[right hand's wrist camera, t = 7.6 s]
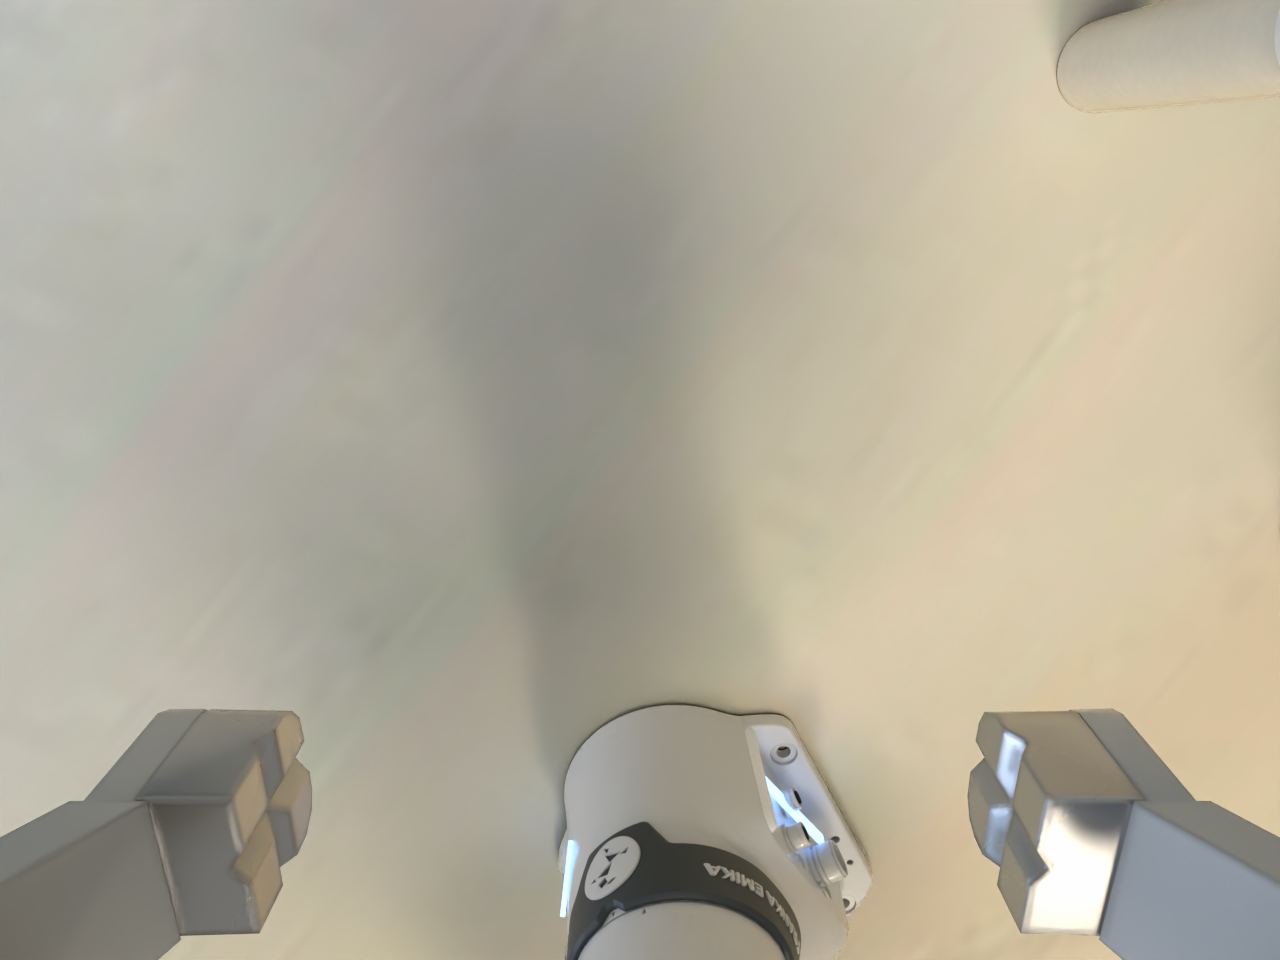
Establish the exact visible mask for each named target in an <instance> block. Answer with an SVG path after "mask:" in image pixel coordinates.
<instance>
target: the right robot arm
mask: <svg viewBox="0 0 1280 960" xmlns="http://www.w3.org/2000/svg"><path fill="white" fill-rule="evenodd" d="M303 742H304V737H303V732H302V727H301V722H300V718H299V717H298V716H297V715H296V714H295V713H294V712H293V711H265V710H219V709H211V710H205V709H169V710H166V711H163V712H160V713H158V714H157V715H156V716H155V717H154V718H153V720H152V721H151V722H150V723H149V724H148V726H147V727H146V728H145V729H144V730H143V731H142V733H141V734H140V735H139V736H138V737H137V738H136V740H135V741H134V742H133V743H132V744H131V746H130V747H129V748H128V749H127V750H126V751H125V753H124V754H123V755H122V756H121V757H120V759H119V760H118V761H117V762H116V763H115V764H114V766H113V767H112V768H111V769H110V770H109V772H108V773H107V774H106V775H105V776H104V777H103V779H102V780H101V781H100V782H99V783H98V784H97V786H96V787H95V788H94V789H93V790H92V792H91V793H90V794H89V795H88V796H87V797H86V799H85V800H84V801H69V802H67V803H65V804H63V805H61V806H59V807H58V808H56V809H54V810H52V811H50V812H48V813H46V814H44V815H42V816H40V817H39V818H37V819H35V820H33V821H31V822H29V823H27V824H25V825H23V826H21V827H19V828H18V829H16V830H14V831H12V832H10V833H8V834H6V835H4V836H2V837H0V960H158V959H159V958H160V957H162V956H163V955H164V954H165V953H166V952H167V951H169V950H170V949H171V948H172V947H173V946H174V945H175V944H177V943H178V942H179V941H180V939H181V938H180V936H186V935H220V934H254V933H260V931H261V929H262V927H263V925H264V923H265V921H266V919H267V917H268V915H269V912H270V910H271V908H272V906H273V904H274V902H275V900H276V898H277V896H278V894H279V892H280V890H281V888H282V886H283V883H282V877H281V871H280V867H281V866H282V865H283V864H285V863H286V862H288V861H289V860H290V859H292V858H293V857H294V856H296V855H297V854H298V852H299V850H300V848H301V845H302V843H303V841H304V839H305V837H306V834H307V830H308V825H309V820H310V816H311V811H312V785H311V779H310V772H309V771H308V770H307V769H306V768H305V767H304V766H303V765H302V764H301V763H300V762H299V761H298V760H297V759H296V758H295V757H296V755H297V753H298V752H299V750H300V748H301V746H302V744H303ZM976 742H977V744H978V746H979V748H980V750H981V752H982V753H983V755H984V757H985V758H984V759H983V760H982V761H981V762H980V763H979V764H978V765H977V766H976V767H975V768H974V769H973V770H972V771H971V772H970V780H969V788H968V806H969V818H970V822H971V826H972V829H973V833H974V837H975V839H976V841H977V843H978V846H979V848H980V850H981V852H982V854H983V855H984V856H986V857H987V858H988V859H990V860H991V861H992V862H994V863H995V864H997V865H998V866H999V867H1000V872H999V877H998V883H997V886H998V888H999V890H1000V892H1001V894H1002V896H1003V898H1004V900H1005V902H1006V904H1007V906H1008V908H1009V910H1010V912H1011V914H1012V916H1013V918H1014V920H1015V923H1016V925H1017V927H1018V929H1019V931H1020V933H1023V934H1059V935H1094V936H1100V938H1099V940H1100V941H1102V942H1103V943H1104V944H1105V945H1106V946H1107V947H1108V948H1110V949H1111V950H1112V951H1113V952H1114V953H1115V954H1117V955H1118V956H1119V957H1120V958H1121V959H1122V960H1280V838H1279V837H1278V836H1276V835H1274V834H1272V833H1270V832H1268V831H1266V830H1264V829H1262V828H1260V827H1259V826H1257V825H1255V824H1253V823H1251V822H1249V821H1247V820H1245V819H1243V818H1241V817H1240V816H1238V815H1236V814H1234V813H1232V812H1230V811H1228V810H1226V809H1224V808H1222V807H1221V806H1219V805H1217V804H1215V803H1213V802H1211V801H1196V800H1195V799H1194V797H1193V796H1192V795H1191V794H1190V793H1189V792H1188V790H1187V789H1186V788H1185V787H1184V786H1183V785H1182V783H1181V782H1180V781H1179V780H1178V779H1177V777H1176V776H1175V775H1174V774H1173V773H1172V772H1171V770H1170V769H1169V768H1168V767H1167V766H1166V764H1165V763H1164V762H1163V761H1162V760H1161V759H1160V757H1159V756H1158V755H1157V754H1156V753H1155V752H1154V750H1153V749H1152V748H1151V747H1150V746H1149V744H1148V743H1147V742H1146V741H1145V740H1144V739H1143V737H1142V736H1141V735H1140V734H1139V733H1138V732H1137V730H1136V729H1135V728H1134V727H1133V726H1132V724H1131V723H1130V722H1129V721H1128V720H1127V719H1126V717H1125V716H1124V715H1123V714H1122V713H1120V712H1118V711H1116V710H1114V709H1084V710H1069V711H1036V712H984V714H983V716H982V718H981V720H980V722H979V725H978V731H977V736H976ZM782 746H786V747H788V748H787V749H785V750H778V748H779V747H782ZM564 804H565V810H566V820H567V829H566V832H565V834H564V837H563V840H562V842H561V845H560V849H559V870H560V872H561V873H562V874H563V875H564V876H565V877H564V886H563V895H562V904H561V913H560V917H565V912H566V903H567V910H568V945H567V946H566V949H565V960H833V959H834V957H835V956H836V955H837V954H838V953H839V951H840V950H841V948H842V947H843V945H844V943H845V940H846V938H847V935H848V920H847V917H848V916H849V915H850V914H851V913H852V912H853V911H854V910H855V909H856V908H857V907H858V906H859V904H860V903H861V902H862V901H863V899H864V898H865V896H866V895H867V893H868V891H869V889H870V888H871V886H872V883H873V879H872V873H871V869H870V866H869V864H868V862H867V860H866V858H865V856H864V854H863V853H862V851H861V849H860V847H859V845H858V843H857V842H856V840H855V838H854V836H853V834H852V832H851V830H850V829H849V827H848V825H847V823H846V821H845V819H844V818H843V816H842V814H841V812H840V810H839V808H838V807H837V805H836V803H835V801H834V799H833V797H832V795H831V794H830V792H829V790H828V788H827V786H826V784H825V783H824V781H823V779H822V777H821V775H820V773H819V772H818V770H817V768H816V766H815V764H814V762H813V761H812V759H811V757H810V755H809V753H808V751H807V749H806V748H805V746H804V744H803V742H802V740H801V738H800V737H799V735H798V733H797V731H796V729H795V727H794V726H793V724H792V723H791V721H790V720H789V719H787V718H786V717H784V716H781V715H775V714H760V715H748V716H735V715H730V714H725V713H722V712H718V711H714V710H711V709H707V708H702V707H697V706H689V705H662V706H654V707H648V708H644V709H640V710H637V711H633V712H631V713H628V714H625V715H623V716H621V717H619V718H617V719H615V720H613V721H611V722H609V723H608V724H606V725H604V726H603V727H602V728H600V729H599V730H598V731H596V732H595V733H594V734H593V735H592V736H591V737H590V738H589V739H588V740H587V741H586V742H585V743H584V744H583V745H582V746H581V748H580V749H579V750H578V752H577V754H576V755H575V757H574V759H573V760H572V762H571V765H570V767H569V769H568V772H567V776H566V780H565V786H564ZM843 898H845V899H843Z"/></svg>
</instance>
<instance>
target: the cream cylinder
mask: <svg viewBox="0 0 1280 960" xmlns="http://www.w3.org/2000/svg"><path fill="white" fill-rule="evenodd" d="M1279 10H1280V0H1164V1H1161V2H1157V3H1154V4H1150V5H1147V6H1144V7H1140V8H1137V9H1133V10H1130V11H1127V12H1123V13H1120V14H1116V15H1113V16H1109V17H1106V18H1103V19H1099V20H1096V21H1093V22H1091V23H1089V24H1087V25H1085V26H1083V27H1082V28H1081V29H1079V30H1078V31H1077V32H1076V33H1075V34H1074V35H1073V36H1072V37H1071V38H1070V39H1069V41H1068V42H1067V44H1066V45H1065V47H1064V49H1063V51H1062V53H1061V56H1060V59H1059V62H1058V68H1057V81H1058V86H1059V89H1060V92H1061V94H1062V96H1063V97H1064V99H1065V100H1066V101H1067V102H1068V103H1069V104H1070V105H1071V106H1072V107H1074V108H1075V109H1077V110H1079V111H1082V112H1086V113H1102V112H1113V111H1125V110H1136V109H1147V108H1159V107H1170V106H1181V105H1192V104H1204V103H1215V102H1226V101H1237V100H1249V99H1260V98H1271V97H1280V65H1279V63H1278V60H1277V56H1276V51H1275V27H1276V21H1277V17H1278V13H1279Z"/></svg>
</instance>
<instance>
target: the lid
mask: <svg viewBox="0 0 1280 960" xmlns="http://www.w3.org/2000/svg"><path fill="white" fill-rule="evenodd" d="M1275 51H1276V56H1277V60H1278V63H1279V65H1280V10H1279V13H1278V17H1277V21H1276V27H1275Z"/></svg>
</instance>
